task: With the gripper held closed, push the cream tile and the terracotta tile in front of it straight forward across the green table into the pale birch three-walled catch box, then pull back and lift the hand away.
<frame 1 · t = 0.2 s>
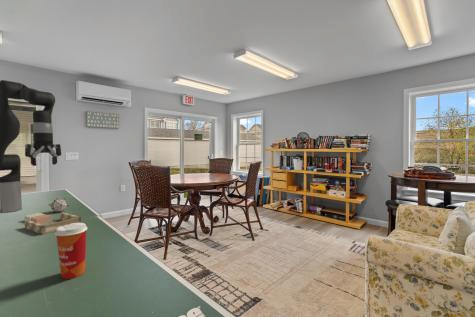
hand: (44, 165, 116), 28 cm above the table, tool pointing down, fingers open, 8 cm apart
cream tile: (34, 220, 119), on the table
catch box: (53, 226, 110), on the table
game die: (59, 212, 134), on the table
terracotta tile: (41, 222, 116), on the table
paper cup: (73, 274, 68), on the table
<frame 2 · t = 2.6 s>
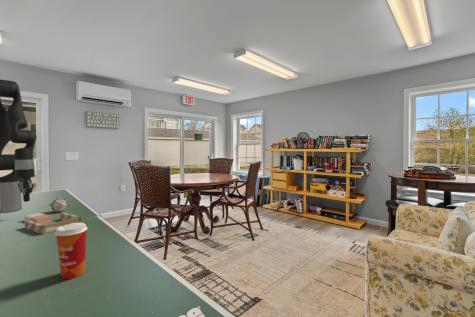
hand: (26, 201, 123), 9 cm above the table, tool pointing down, fingers closed
nothing on the table moved.
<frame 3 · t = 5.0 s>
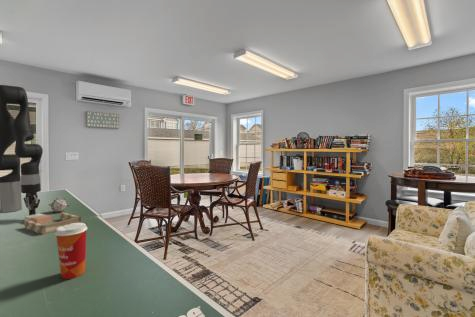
hand: (32, 216, 121), 2 cm above the table, tool pointing down, fingers closed
cream tile: (35, 221, 118), on the table
terracotta tile: (41, 223, 115), on the table
everything else where it was.
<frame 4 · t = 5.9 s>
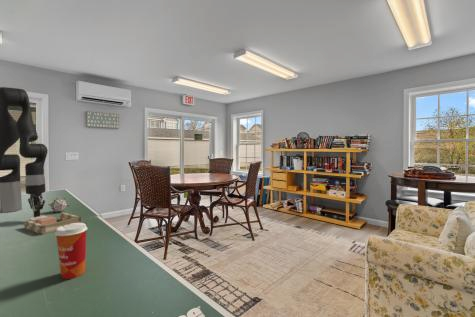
hand: (37, 217, 118), 2 cm above the table, tool pointing down, fingers closed
cream tile: (39, 223, 115), on the table, touching gripper
terracotta tile: (46, 224, 113), on the table
everything else where it was.
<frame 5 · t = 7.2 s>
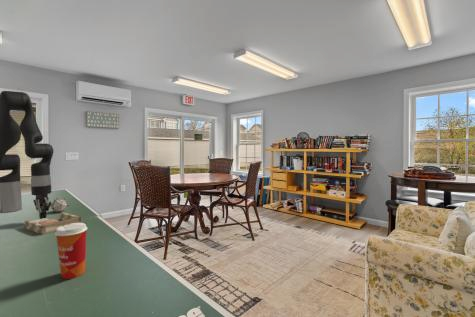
hand: (43, 219, 115), 2 cm above the table, tool pointing down, fingers closed
cream tile: (40, 226, 111), on the table, touching gripper
terracotta tile: (49, 227, 109), on the table
everything else where it was.
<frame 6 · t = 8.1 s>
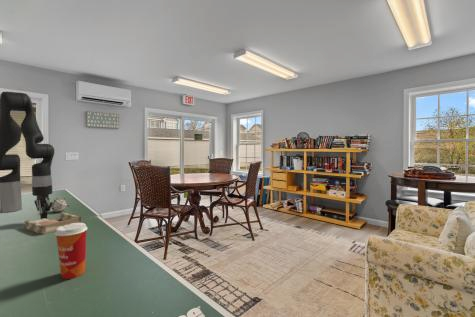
hand: (44, 220, 115), 2 cm above the table, tool pointing down, fingers closed
cream tile: (40, 227, 110), on the table
terracotta tile: (49, 228, 108), on the table
everything else where it was.
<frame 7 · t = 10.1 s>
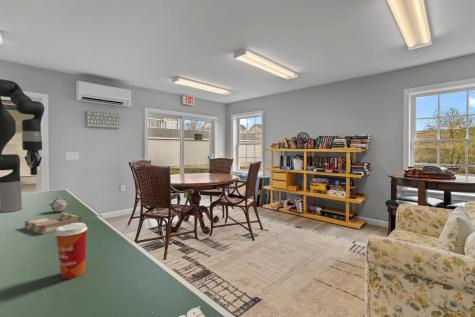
hand: (33, 174, 118), 23 cm above the table, tool pointing down, fingers closed
nothing on the table moved.
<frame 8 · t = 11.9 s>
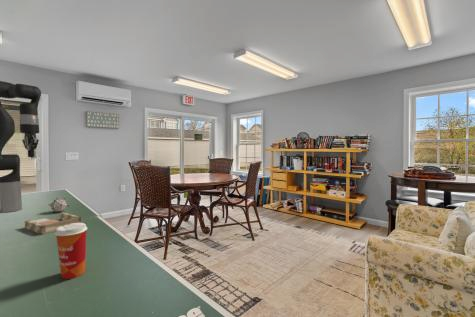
hand: (31, 157, 123), 32 cm above the table, tool pointing down, fingers closed
nothing on the table moved.
at the end: terracotta tile inside the target area on the catch box (2.2 cm from its centre), point 0.0 cm above the catch box's base; cream tile inside the target area on the catch box (6.3 cm from its centre), point 0.0 cm above the catch box's base; terracotta tile tilted 0° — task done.
